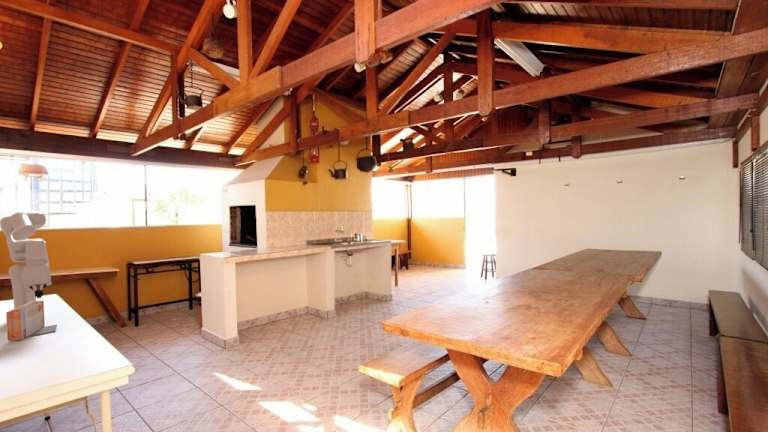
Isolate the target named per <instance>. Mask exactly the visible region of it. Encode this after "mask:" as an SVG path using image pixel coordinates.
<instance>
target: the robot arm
mask: <svg viewBox="0 0 768 432" xmlns="http://www.w3.org/2000/svg"><path fill="white" fill-rule="evenodd" d="M46 223H47V217H46V215H45V214H44V213H43V212H41V211H20V212H15V213H13V214H12V215H9V216H4V217H2V218H1V219H0V229H1V231H2V233H3V234H4V237H5V238H6V244H7V248H8V250H9V257H10V260H11V261H12V262H15V263H18V264H13V265H12V266H10V267H9V269H8V275H9V278H10V283H11V288H12V289H11V290H12V297H13V298H12V300H13V309H15V308H17V307H20V306H22V305H24V304H26V303H29V302H33V301H37V299H41V298H42V297H43V296H44V289H45V288H46V287H49V286H52V284H53V282H52V275H51V268H50V267H51V266H50V262H51V261H50V259H49V255H48V250H47V242H46V241H45V240H44V239H42V238H30V237H32V236H34V235H35V234H36V231H37V230H39V229H41V228H42V227H44V226H45V225H46ZM23 262H24V263H23ZM38 285H39V289H38V287H37V286H38Z"/></svg>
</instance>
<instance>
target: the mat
mask: <svg viewBox="0 0 768 432" xmlns="http://www.w3.org/2000/svg"><path fill="white" fill-rule="evenodd" d="M57 325H58V324H51V325H46V326H44V327H43V328H41V329H39V330H38V331H36V332H34V333H33V334H31V335H29V336H27V337H26V339H27V338H32V337H36V336H41V335H47V334H51V333H56V330H57Z"/></svg>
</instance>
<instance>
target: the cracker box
mask: <svg viewBox="0 0 768 432" xmlns="http://www.w3.org/2000/svg"><path fill="white" fill-rule="evenodd" d="M44 302H45V301H44V300H36V301H33V302H29V303H26V304H24V305H22V306H20V307H17V308H15V309H14V308H13V309H11V310H8V311H6V312H5V314H6V315H5V316H6V328H7V329H6V333H7V334H6V335H7V336H6V337H7V342H11V341H20V340H23V339H25V338H26V337H27V336H29V335H31V334H33V333H34V332H36V331H38V330H39V329H41V328H43V327H46V326H45V309H44V307H45V305H44V304H45V303H44ZM27 338H28V337H27ZM27 338H26V339H27Z"/></svg>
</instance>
